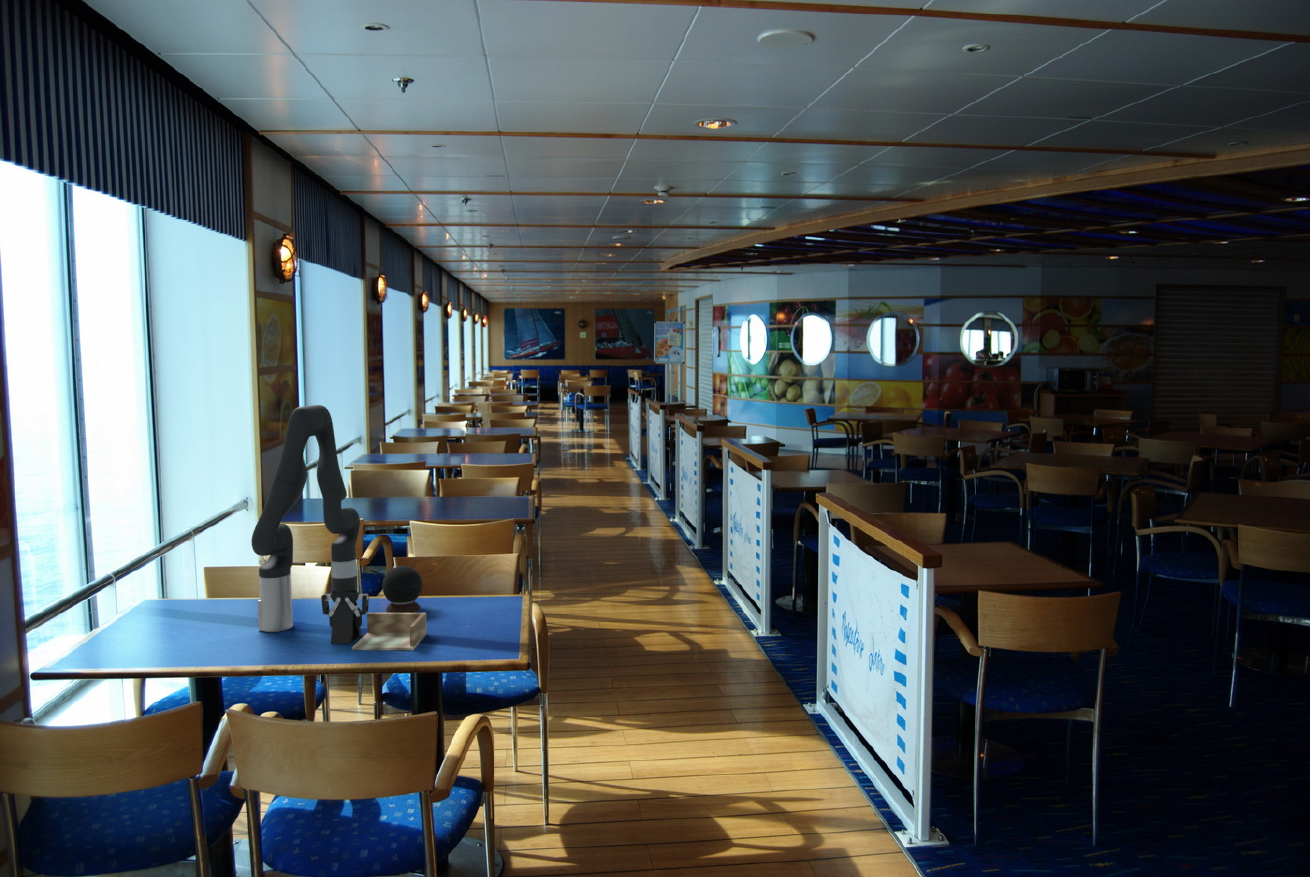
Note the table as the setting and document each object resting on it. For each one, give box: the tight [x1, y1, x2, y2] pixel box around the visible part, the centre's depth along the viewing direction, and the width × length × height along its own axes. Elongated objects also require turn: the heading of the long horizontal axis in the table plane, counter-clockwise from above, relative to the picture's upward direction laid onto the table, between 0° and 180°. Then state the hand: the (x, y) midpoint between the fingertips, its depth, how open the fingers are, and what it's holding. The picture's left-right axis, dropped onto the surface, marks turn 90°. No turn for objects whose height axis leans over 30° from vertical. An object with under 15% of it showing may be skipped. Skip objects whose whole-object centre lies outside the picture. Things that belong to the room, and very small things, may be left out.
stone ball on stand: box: [381, 565, 424, 613], centre depth 306 cm, size 13×13×15 cm
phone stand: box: [330, 601, 363, 645], centre depth 274 cm, size 9×6×12 cm, turn 175°
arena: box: [351, 612, 428, 651], centre depth 273 cm, size 18×15×7 cm
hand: (346, 627), depth 275 cm, fingers open, 7 cm apart
